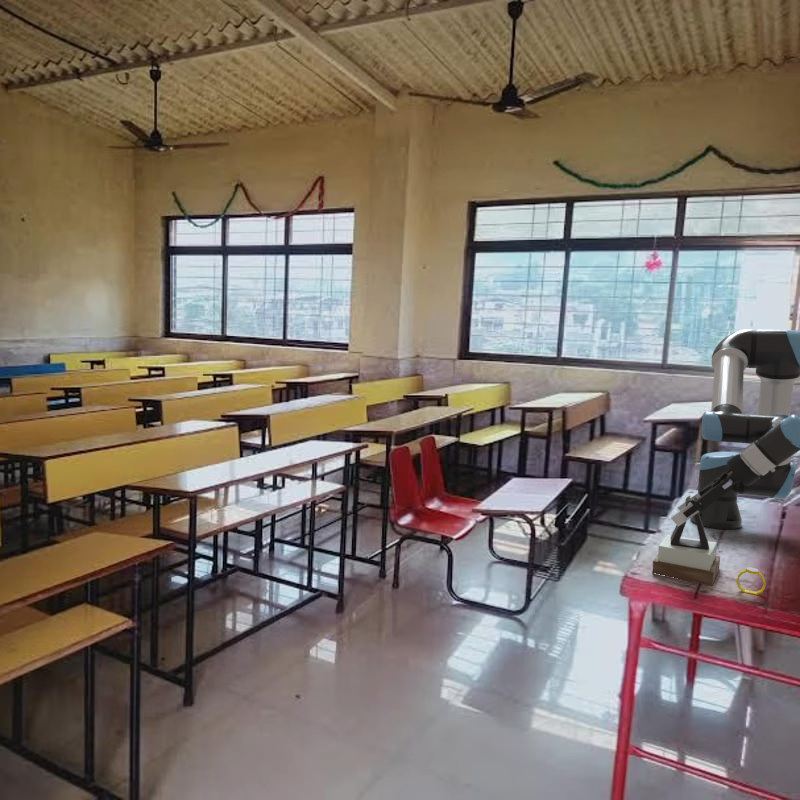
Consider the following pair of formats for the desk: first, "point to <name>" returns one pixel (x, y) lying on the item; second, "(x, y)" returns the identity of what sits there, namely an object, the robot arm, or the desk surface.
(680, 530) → the phone stand
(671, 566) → the lower block
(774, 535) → the desk surface
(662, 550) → the upper block
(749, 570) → the watch
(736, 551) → the desk surface
